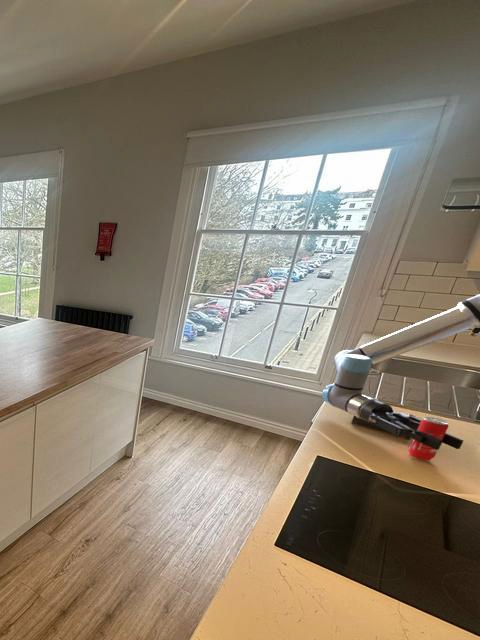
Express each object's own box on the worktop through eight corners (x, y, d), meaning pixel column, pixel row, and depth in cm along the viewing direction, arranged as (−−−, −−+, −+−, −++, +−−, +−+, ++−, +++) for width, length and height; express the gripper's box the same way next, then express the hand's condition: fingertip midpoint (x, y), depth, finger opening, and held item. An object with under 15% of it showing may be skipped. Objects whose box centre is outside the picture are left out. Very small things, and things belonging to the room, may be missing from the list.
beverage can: (417, 460, 116) (433, 424, 112) (402, 451, 121) (417, 416, 117) (438, 462, 115) (455, 425, 111) (422, 452, 120) (438, 417, 116)
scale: (411, 425, 137) (415, 415, 136) (403, 436, 130) (407, 426, 129) (361, 412, 147) (365, 403, 146) (351, 422, 140) (354, 413, 139)
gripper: (393, 419, 134) (476, 455, 112) (339, 420, 134) (412, 457, 112) (401, 399, 131) (488, 432, 109) (346, 400, 131) (422, 434, 109)
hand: (449, 444), depth 111 cm, fingers closed on beverage can, 5 cm apart
